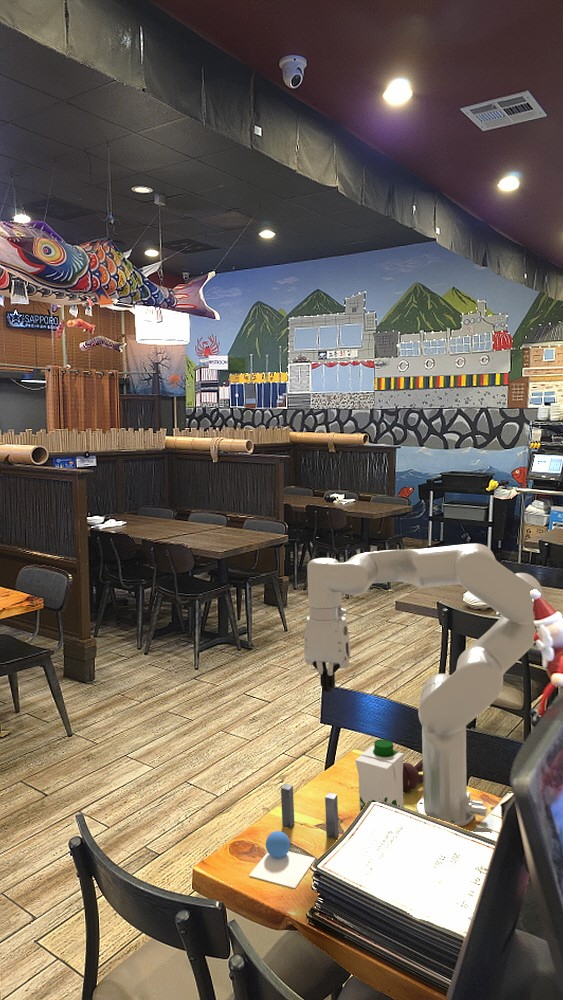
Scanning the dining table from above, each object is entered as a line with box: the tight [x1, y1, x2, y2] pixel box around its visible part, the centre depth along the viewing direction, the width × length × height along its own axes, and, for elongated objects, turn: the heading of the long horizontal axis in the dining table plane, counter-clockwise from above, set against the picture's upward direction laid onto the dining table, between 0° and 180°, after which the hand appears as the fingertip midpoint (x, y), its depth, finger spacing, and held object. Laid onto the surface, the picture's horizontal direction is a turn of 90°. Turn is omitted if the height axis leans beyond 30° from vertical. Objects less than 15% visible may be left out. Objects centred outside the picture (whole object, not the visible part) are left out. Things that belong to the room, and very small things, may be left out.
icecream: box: [403, 760, 423, 795], centre depth 167 cm, size 7×7×15 cm
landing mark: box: [248, 850, 316, 890], centre depth 140 cm, size 10×10×1 cm
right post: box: [324, 792, 340, 840], centre depth 150 cm, size 2×2×9 cm
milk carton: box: [355, 738, 405, 812], centre depth 148 cm, size 9×9×20 cm
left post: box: [280, 783, 295, 829], centre depth 154 cm, size 2×2×9 cm
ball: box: [265, 830, 291, 858], centre depth 143 cm, size 5×5×5 cm
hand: (328, 689), depth 161 cm, fingers closed
